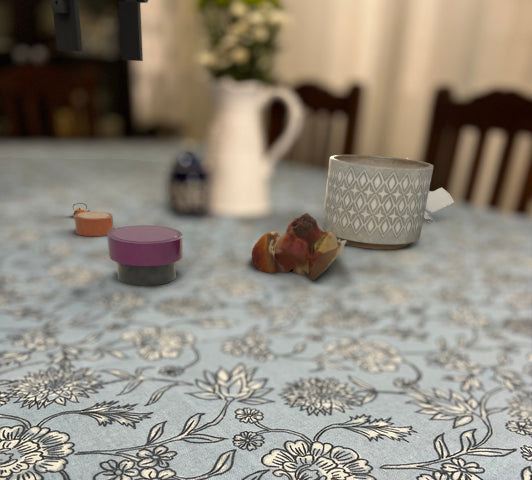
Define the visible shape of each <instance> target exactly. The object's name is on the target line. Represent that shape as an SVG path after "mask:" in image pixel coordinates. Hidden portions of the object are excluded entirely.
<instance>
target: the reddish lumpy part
mask: <svg viewBox="0 0 532 480" xmlns="http://www.w3.org/2000/svg"><path fill="white" fill-rule="evenodd" d="M345 243H346V240H344V241H340V239H339V240H337V238H336V236H335V235H334V234H333V233H332V232H330V231H326V232H325V231H324V230H323V229H321V228H320V227H319V225H318V222H317V220H316V219H315V218H314V217H313V216H311V215H310V214H309V213H307V212H305V213H304V214H301V215H300V216H299V217H296V218H294V219H293V220H292V221H291V222H290V223H289V224H288V225H287V228H286V230H285V233H282V234H281V235H280V233H279V231H277V230H273V231H271V232H270V231H267V232H265V233H264V234H263V235H262V236H260V237H259V239H257V241H256V242H255V244H254V245H253V247H252V250H251V259H252V266H253V267H254V268H255V269H257V270H259V271H262V272H264V273H268V274H274V273H289V272H290V271H292V273H295V274H298V275H303V276H305V277H307V278H308V279H309V280H310V281H316V279H318V278H319V276H321V274H322V273H323V272H325V271H326V270H327V269H328V268H329V267H330V265H331V264H332V263H333V262H334V261H335V260H336V258H337V257H339V255H341V253H342V251H343V249H344V247H345V245H346V244H345Z"/></svg>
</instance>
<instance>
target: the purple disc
mask: <svg viewBox="0 0 532 480" xmlns="http://www.w3.org/2000/svg"><path fill="white" fill-rule="evenodd" d="M106 239H107V252H108V253H107V254H108V258H109V259H110V260H111V261H113V262H115V263H117V262H118V263H121V264H126V265H132V266H159V265H166V264H171V263H174V262H178V261H181V259H182V258H183V256H184V252H183V251H184V249H183V247H184V246H183V243H184V241H183V233H182V232H181V231H180V230H178V229H175V228H172V227H167V226H162V225H149V224H148V225H146V224H145V225H144V224H141V225H127V226H121V227H120V226H119V227H116V228H113V230H110V231H109V232H108V233H107V235H106Z"/></svg>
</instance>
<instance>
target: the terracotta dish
mask: <svg viewBox="0 0 532 480" xmlns="http://www.w3.org/2000/svg"><path fill="white" fill-rule="evenodd" d="M74 217H75V218H74ZM74 217H73V218H74V225H75V233H76V234H77V235H79V236H82V237H83V236H84V237H105V236H107V233H108V232H109V231H110V230H113V229H114V221H113V214H111V213H110V212H105V211H89V212H87V211H86V212H81V213H77V214H75V215H74Z"/></svg>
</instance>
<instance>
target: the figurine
mask: <svg viewBox="0 0 532 480" xmlns="http://www.w3.org/2000/svg"><path fill="white" fill-rule="evenodd" d="M405 159H410V160H412V159H411V158H409V157H406V158H405ZM454 203H455V201H454V198H453V197H452V196H451V194H450V193H449V192H448V191H447V190H445V188H443V187H439V188H437V189H435V190H433V191H431V190H429V193H428V198H427V203H426V208H425V213H424V215H429V213H428V212H430V213H436V212H437V211H439V210H442V209H444V208H445V207H448V206H450V205H452V204H454ZM427 211H428V212H427ZM429 216H430V215H429ZM423 221H425V222H428V221H429V222H431V223H432V222H433V221H434V219H433V220H431V219H425V218H423ZM429 222H428V223H429Z"/></svg>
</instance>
